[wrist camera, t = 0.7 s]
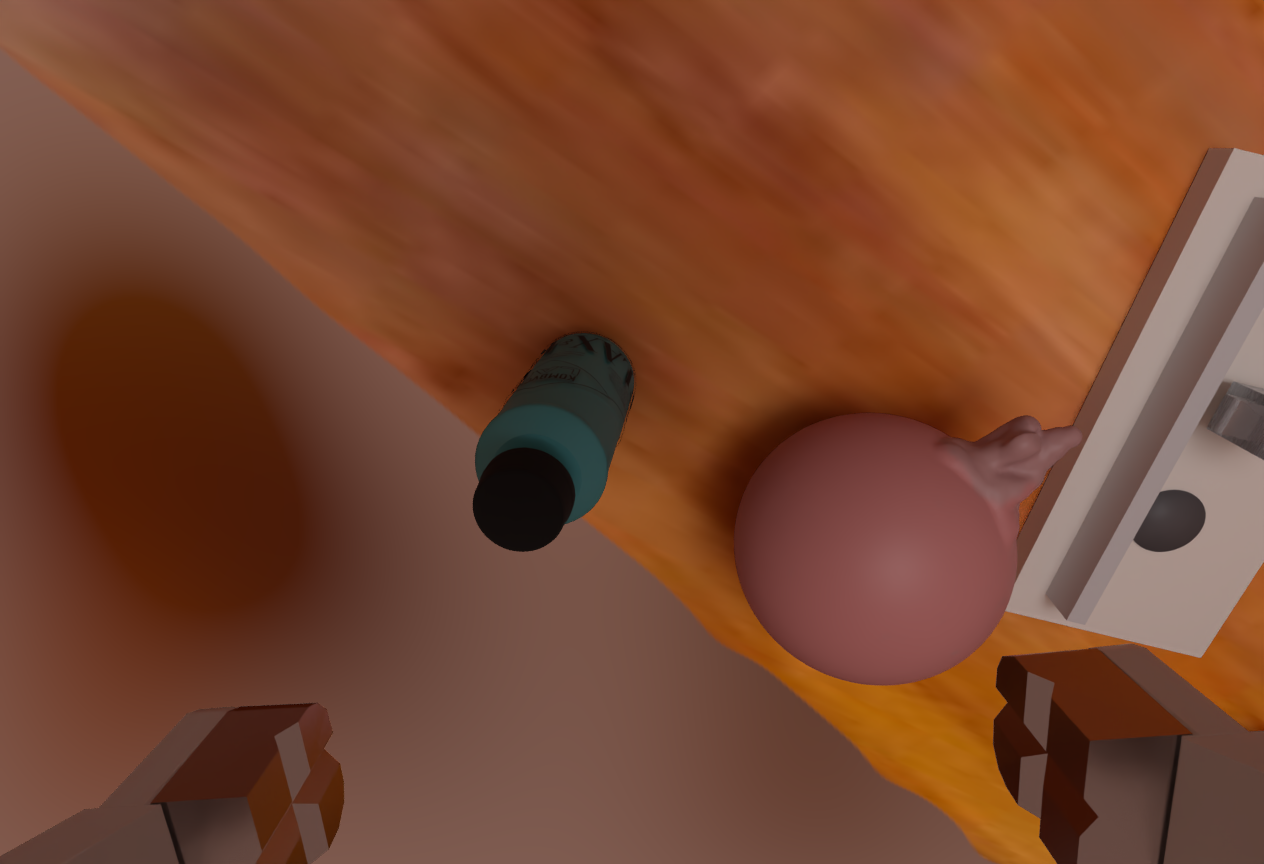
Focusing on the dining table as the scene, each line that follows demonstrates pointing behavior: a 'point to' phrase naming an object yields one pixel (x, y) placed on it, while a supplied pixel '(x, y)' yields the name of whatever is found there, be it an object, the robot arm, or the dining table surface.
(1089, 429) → the grey peg board
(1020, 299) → the dining table surface
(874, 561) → the balloon
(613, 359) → the beverage bottle
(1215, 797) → the robot arm
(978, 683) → the dining table surface
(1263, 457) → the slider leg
